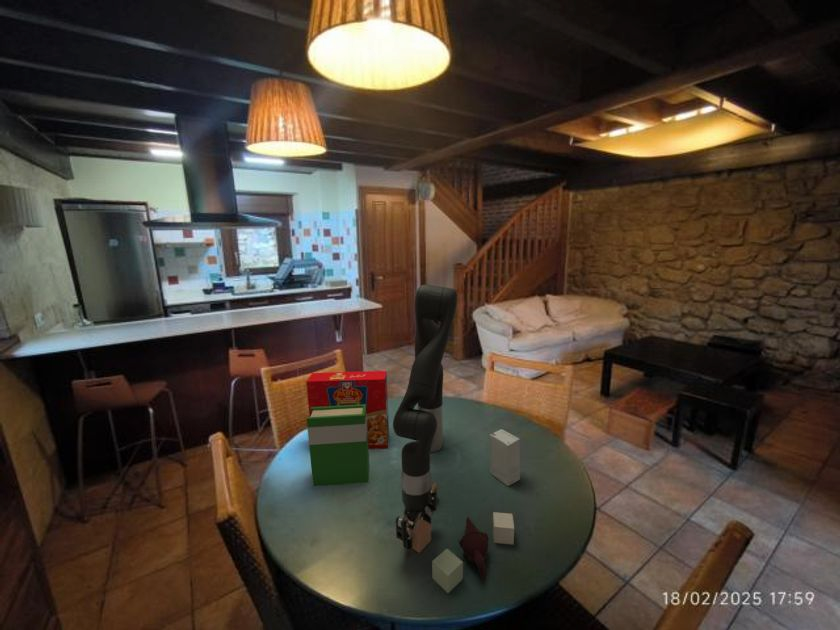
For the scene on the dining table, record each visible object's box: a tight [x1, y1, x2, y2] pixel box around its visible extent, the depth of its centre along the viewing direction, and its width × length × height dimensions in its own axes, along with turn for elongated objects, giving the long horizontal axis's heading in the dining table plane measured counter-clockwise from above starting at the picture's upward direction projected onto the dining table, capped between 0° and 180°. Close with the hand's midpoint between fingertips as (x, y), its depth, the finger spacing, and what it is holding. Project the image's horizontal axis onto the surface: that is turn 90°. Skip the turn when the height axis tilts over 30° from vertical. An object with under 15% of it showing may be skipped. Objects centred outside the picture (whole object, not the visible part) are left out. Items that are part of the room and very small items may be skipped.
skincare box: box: [489, 428, 521, 487], centre depth 117 cm, size 8×6×15 cm
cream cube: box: [492, 511, 515, 545], centre depth 95 cm, size 5×5×5 cm
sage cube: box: [431, 548, 464, 594], centre depth 84 cm, size 5×5×5 cm
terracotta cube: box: [407, 518, 432, 554], centre depth 94 cm, size 5×5×5 cm
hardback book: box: [306, 404, 370, 487], centre depth 117 cm, size 18×7×24 cm, turn 95°
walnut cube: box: [431, 481, 438, 504], centre depth 108 cm, size 5×5×5 cm
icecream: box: [458, 517, 489, 580], centre depth 90 cm, size 7×7×15 cm
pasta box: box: [305, 370, 390, 450], centre depth 136 cm, size 28×8×28 cm, turn 92°
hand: (417, 537), depth 94 cm, fingers open, 7 cm apart
